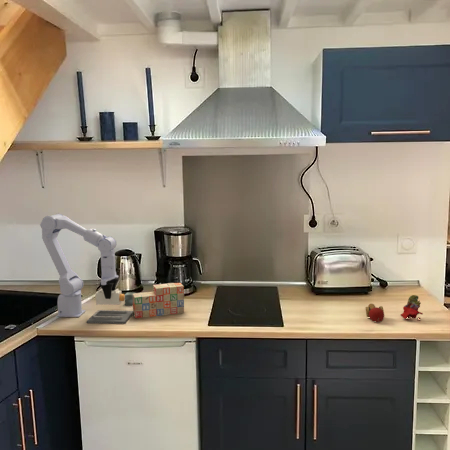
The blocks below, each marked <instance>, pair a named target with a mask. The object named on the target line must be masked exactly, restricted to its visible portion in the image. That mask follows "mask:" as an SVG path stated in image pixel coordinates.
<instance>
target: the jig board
mask: <svg viewBox="0 0 450 450" xmlns="http://www.w3.org/2000/svg"><path fill="white" fill-rule="evenodd" d="M132 316H134V314H133V310H127V309H126V310H124V309H123V310H122V309H121V310H120V309H119V310H118V309H116V310H115V309H110V310H109V309H99V310H97V311H96V312H95V313H93V314H92V315H91V316H90V317H89V318H88V319H86V324H103V325H104V324H105V325H106V324H111V325H115V324H116V325H126V323H127V322H129V320H130V318H131V317H132Z"/></svg>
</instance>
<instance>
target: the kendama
mask: <svg viewBox="0 0 450 450" xmlns="http://www.w3.org/2000/svg"><path fill="white" fill-rule="evenodd" d="M384 311H385V310H384V307H383V306H382V305H380V306H379V307H377V306H376V305H375V304H374V303H369V304H368V306H366V307H365V315H366V318H367V317H370V318H369V319H370V321H372V322H373V321H376V322H375V323H381V322H382V321H383V320H384V318H385V312H384ZM380 321H381V322H380Z"/></svg>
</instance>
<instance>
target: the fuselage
mask: <svg viewBox="0 0 450 450" xmlns="http://www.w3.org/2000/svg"><path fill="white" fill-rule="evenodd" d="M94 295H95V305H97V306H98V305H99V306H100V305H101V306H102V305H108V306H109V305H112V306H113V305H120V304H122V302H125V293H122V290H120V289H119V288H115V290H112V292H111V298H110V299H105V296H104V292H103V290H102V288H100V289H98V290H97V291H96V292H95V294H94Z"/></svg>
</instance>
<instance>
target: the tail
mask: <svg viewBox="0 0 450 450" xmlns="http://www.w3.org/2000/svg"><path fill="white" fill-rule="evenodd" d="M135 293H136V292H126V293H124V295H125V300H124V305H125V306H129V307H131V306H132V307H133V294H135Z"/></svg>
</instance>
